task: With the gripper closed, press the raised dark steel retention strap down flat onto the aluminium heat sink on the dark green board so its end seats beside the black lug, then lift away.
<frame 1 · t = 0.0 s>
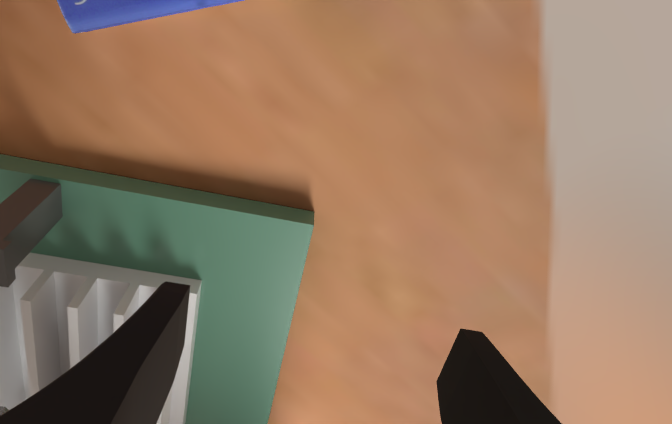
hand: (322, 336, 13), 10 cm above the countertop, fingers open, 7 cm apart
heatsink board: (110, 341, 27), on the countertop
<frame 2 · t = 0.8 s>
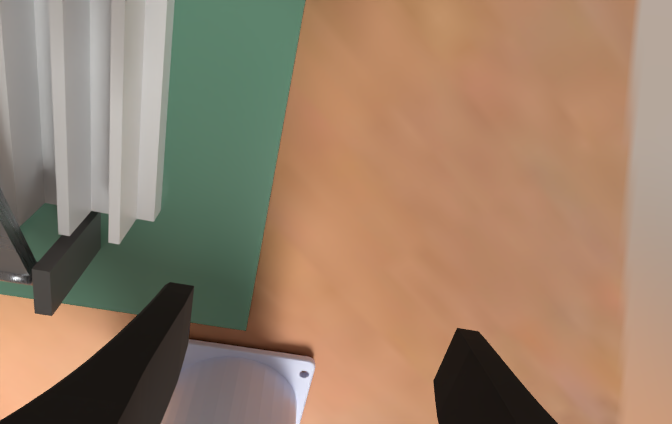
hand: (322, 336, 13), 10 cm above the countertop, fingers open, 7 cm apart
heatsink board: (61, 91, 20), on the countertop
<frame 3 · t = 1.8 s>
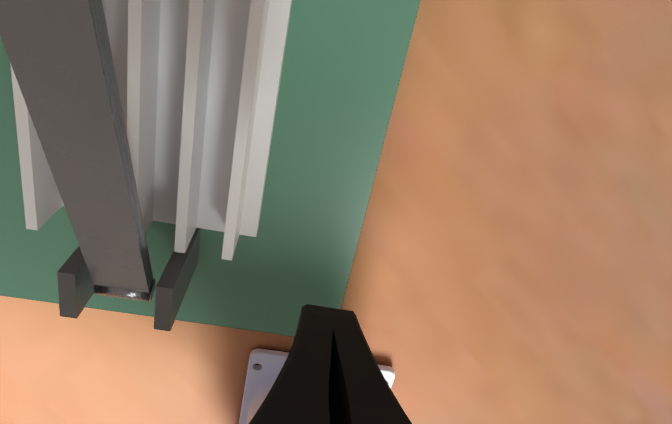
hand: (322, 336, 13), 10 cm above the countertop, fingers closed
retention strap: (89, 156, 14), point 8 cm above the countertop, hinge at 24.0°
heatsink board: (166, 111, 21), on the countertop
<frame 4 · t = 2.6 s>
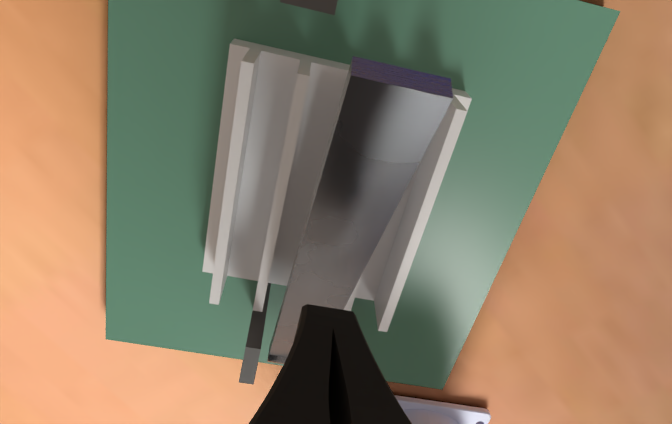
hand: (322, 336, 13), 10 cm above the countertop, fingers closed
retention strap: (325, 271, 16), point 8 cm above the countertop, hinge at 24.0°
heatsink board: (320, 190, 23), on the countertop
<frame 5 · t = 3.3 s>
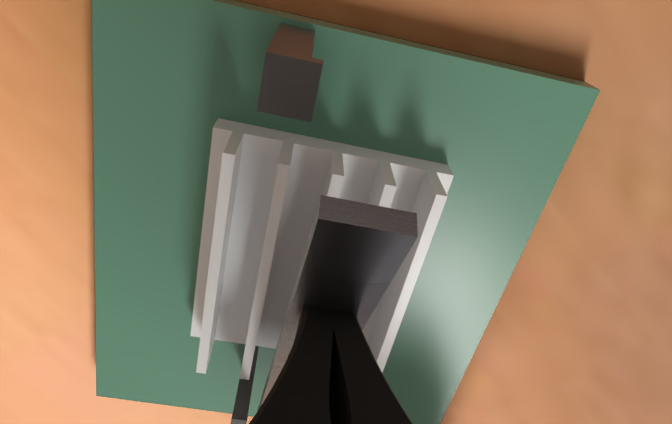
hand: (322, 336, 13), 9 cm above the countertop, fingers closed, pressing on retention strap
retention strap: (306, 358, 16), point 8 cm above the countertop, hinge at 23.0°, touching gripper
heatsink board: (307, 252, 23), on the countertop
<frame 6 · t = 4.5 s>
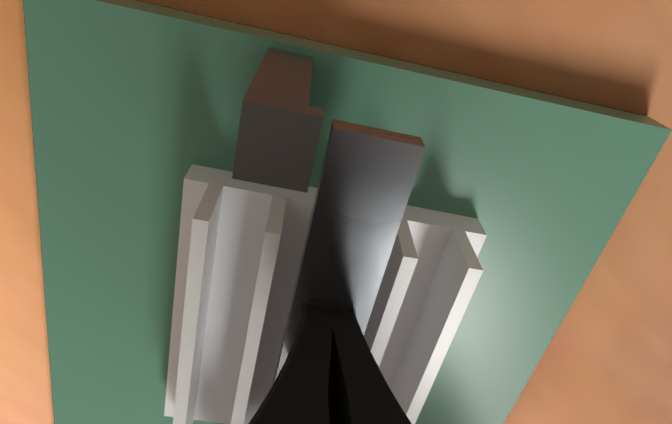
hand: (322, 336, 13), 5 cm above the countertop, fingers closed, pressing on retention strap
retention strap: (309, 381, 14), point 5 cm above the countertop, hinge at -0.2°, touching gripper
heatsink board: (304, 314, 19), on the countertop
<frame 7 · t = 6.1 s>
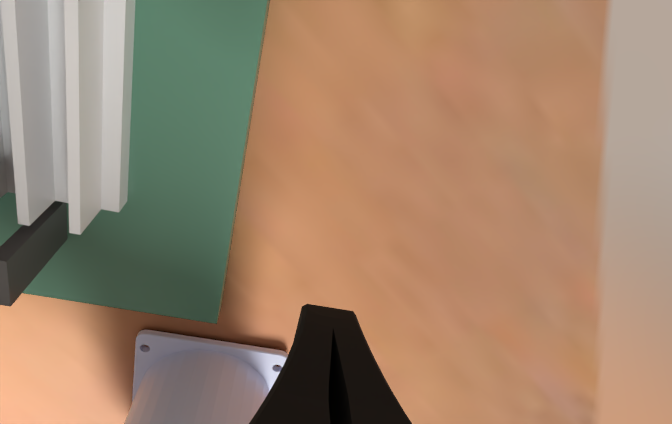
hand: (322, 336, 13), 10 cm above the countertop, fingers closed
heatsink board: (25, 78, 20), on the countertop
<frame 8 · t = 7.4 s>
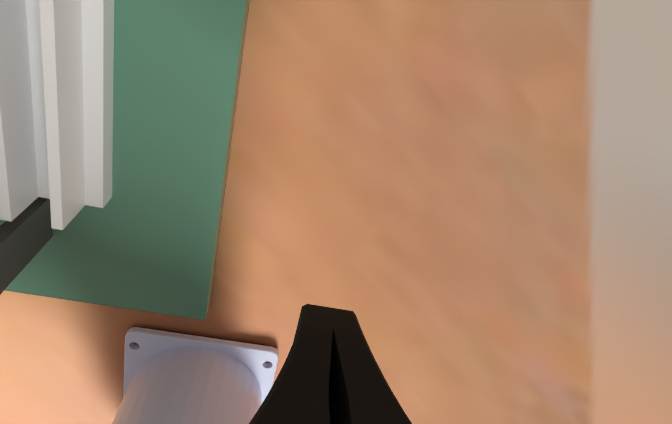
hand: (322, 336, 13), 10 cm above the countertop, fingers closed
heatsink board: (7, 74, 20), on the countertop
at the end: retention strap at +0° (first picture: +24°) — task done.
